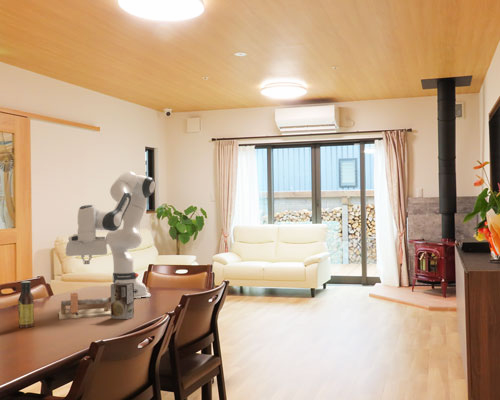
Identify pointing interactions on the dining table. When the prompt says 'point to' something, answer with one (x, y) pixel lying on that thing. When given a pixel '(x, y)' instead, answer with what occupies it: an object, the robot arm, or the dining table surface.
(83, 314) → the pipe stand
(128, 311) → the coffee box
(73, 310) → the bridge block
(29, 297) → the sauce bottle
